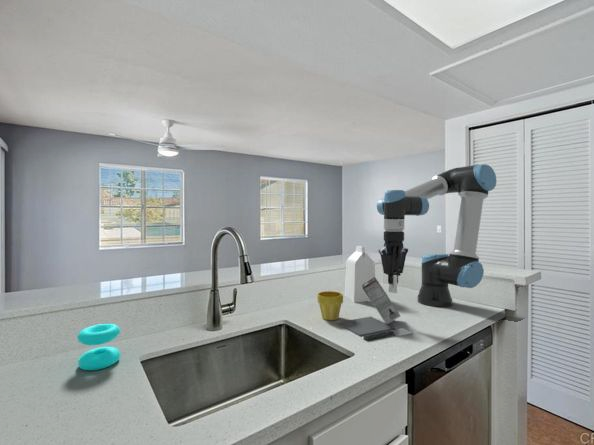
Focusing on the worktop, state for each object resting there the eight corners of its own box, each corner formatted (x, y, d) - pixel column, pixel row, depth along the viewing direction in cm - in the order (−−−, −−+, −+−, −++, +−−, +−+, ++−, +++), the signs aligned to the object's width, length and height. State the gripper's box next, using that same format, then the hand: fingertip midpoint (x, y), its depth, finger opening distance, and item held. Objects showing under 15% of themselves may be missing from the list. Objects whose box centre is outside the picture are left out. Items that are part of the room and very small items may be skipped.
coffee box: (384, 319, 127) (361, 284, 129) (397, 310, 126) (374, 276, 128) (386, 325, 118) (362, 288, 120) (401, 316, 117) (376, 279, 119)
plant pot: (315, 314, 133) (315, 290, 132) (339, 313, 134) (339, 290, 133) (319, 322, 122) (319, 297, 122) (345, 321, 123) (345, 296, 123)
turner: (402, 328, 116) (402, 326, 116) (413, 333, 111) (413, 330, 111) (360, 337, 108) (360, 334, 108) (369, 342, 103) (369, 339, 103)
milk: (344, 296, 162) (344, 245, 161) (365, 294, 165) (365, 245, 164) (354, 302, 150) (354, 248, 150) (376, 300, 153) (376, 247, 153)
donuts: (84, 338, 81) (72, 329, 87) (85, 376, 81) (72, 364, 88) (125, 327, 89) (111, 319, 95) (126, 362, 89) (111, 352, 95)
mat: (370, 317, 128) (370, 316, 128) (395, 329, 116) (395, 327, 116) (337, 323, 121) (337, 322, 121) (359, 336, 109) (359, 334, 109)
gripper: (387, 231, 114) (386, 296, 115) (414, 230, 120) (413, 292, 121) (373, 230, 121) (373, 291, 122) (399, 230, 127) (398, 288, 127)
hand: (392, 292), depth 121 cm, fingers closed
